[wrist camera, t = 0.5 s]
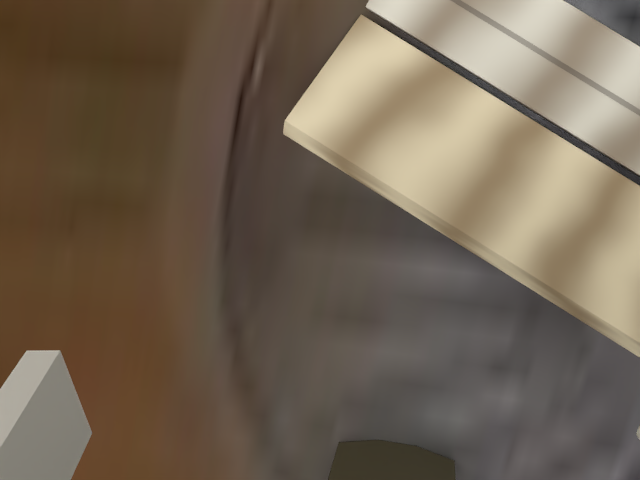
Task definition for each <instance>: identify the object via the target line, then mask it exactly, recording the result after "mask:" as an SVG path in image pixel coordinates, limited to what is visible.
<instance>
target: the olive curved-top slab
mask: <svg viewBox="0 0 640 480" xmlns="http://www.w3.org/2000/svg"><path fill="white" fill-rule="evenodd" d="M328 480H455V462H454V461H453V460H451V459H448V458H445V457H443V456H440V455H438V454H435V453H433V452H430V451H428V450H425V449H422V448H420V447H417V446H413V445H407V444H400V443H394V442H388V441H381V440H367V441H353V442H339V444H338V447H337V451H336V454H335V458H334V461H333V464H332V468H331V471H330V475H329V478H328Z"/></svg>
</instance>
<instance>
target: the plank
mask: <svg viewBox="0 0 640 480" xmlns="http://www.w3.org/2000/svg"><path fill="white" fill-rule="evenodd" d="M283 134H284V135H286V136H287V137H289V138H291V139H292V140H294V141H295V142H297V143H299V144H300V145H302V146H303V147H305V148H307V149H308V150H310V151H311V152H313V153H314V154H316V155H318V156H319V157H321V158H322V159H324V160H326V161H327V162H329V163H330V164H332V165H334V166H335V167H337V168H338V169H340V170H342V171H343V172H345V173H346V174H348V175H350V176H351V177H353V178H354V179H356V180H358V181H359V182H361V183H362V184H364V185H366V186H367V187H369V188H370V189H372V190H373V191H375V192H377V193H378V194H380V195H381V196H383V197H385V198H386V199H388V200H389V201H391V202H393V203H394V204H396V205H397V206H399V207H401V208H402V209H404V210H405V211H407V212H409V213H410V214H412V215H413V216H415V217H417V218H418V219H420V220H421V221H423V222H425V223H426V224H428V225H429V226H431V227H432V228H434V229H436V230H437V231H439V232H440V233H442V234H444V235H445V236H447V237H448V238H450V239H452V240H453V241H455V242H456V243H458V244H460V245H461V246H463V247H464V248H466V249H468V250H469V251H471V252H472V253H474V254H476V255H477V256H479V257H480V258H482V259H484V260H485V261H487V262H488V263H490V264H491V265H493V266H495V267H496V268H498V269H499V270H501V271H503V272H504V273H506V274H507V275H509V276H511V277H512V278H514V279H515V280H517V281H519V282H520V283H522V284H523V285H525V286H527V287H528V288H530V289H531V290H533V291H535V292H536V293H538V294H539V295H541V296H542V297H544V298H546V299H547V300H549V301H550V302H552V303H554V304H555V305H557V306H558V307H560V308H562V309H563V310H565V311H566V312H568V313H570V314H571V315H573V316H574V317H576V318H578V319H579V320H581V321H582V322H584V323H586V324H587V325H589V326H590V327H592V328H594V329H595V330H597V331H598V332H600V333H601V334H603V335H605V336H606V337H608V338H609V339H611V340H613V341H614V342H616V343H617V344H619V345H621V346H622V347H624V348H625V349H627V350H629V351H630V352H632V353H633V354H635V355H637V356H638V357H640V186H639V185H637V184H636V183H634V182H633V181H631V180H629V179H628V178H626V177H624V176H623V175H621V174H620V173H618V172H616V171H615V170H613V169H611V168H610V167H608V166H607V165H605V164H603V163H602V162H600V161H598V160H597V159H595V158H594V157H592V156H590V155H589V154H587V153H585V152H584V151H582V150H581V149H579V148H577V147H576V146H574V145H572V144H571V143H569V142H568V141H566V140H564V139H563V138H561V137H559V136H558V135H556V134H555V133H553V132H551V131H550V130H548V129H546V128H545V127H543V126H542V125H540V124H538V123H537V122H535V121H533V120H532V119H530V118H529V117H527V116H525V115H524V114H522V113H520V112H519V111H517V110H516V109H514V108H512V107H511V106H509V105H507V104H506V103H504V102H503V101H501V100H499V99H498V98H496V97H494V96H493V95H491V94H490V93H488V92H486V91H485V90H483V89H481V88H480V87H478V86H477V85H475V84H473V83H472V82H470V81H468V80H467V79H465V78H464V77H462V76H460V75H459V74H457V73H455V72H454V71H452V70H451V69H449V68H447V67H446V66H444V65H442V64H441V63H439V62H438V61H436V60H434V59H433V58H431V57H429V56H428V55H426V54H425V53H423V52H421V51H420V50H418V49H416V48H415V47H413V46H412V45H410V44H408V43H407V42H405V41H403V40H402V39H400V38H399V37H397V36H395V35H394V34H392V33H390V32H389V31H387V30H386V29H384V28H382V27H381V26H379V25H377V24H376V23H374V22H373V21H371V20H369V19H368V18H366V17H364V16H363V15H360V17H359V18H358V20H357V21H356V22H355V24H354V25H353V26H352V28H351V29H350V31H349V32H348V33H347V35H346V36H345V38H344V39H343V40H342V42H341V43H340V45H339V46H338V47H337V49H336V50H335V51H334V53H333V54H332V56H331V57H330V58H329V60H328V61H327V63H326V64H325V65H324V67H323V68H322V70H321V71H320V72H319V74H318V75H317V76H316V78H315V79H314V81H313V82H312V83H311V85H310V86H309V88H308V89H307V90H306V92H305V93H304V95H303V96H302V97H301V99H300V100H299V101H298V103H297V104H296V106H295V107H294V108H293V110H292V111H291V113H290V114H289V115H288V117H287V118H286V120H285V122H284V130H283Z"/></svg>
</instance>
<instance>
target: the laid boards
mask: <svg viewBox="0 0 640 480" xmlns="http://www.w3.org/2000/svg"><path fill="white" fill-rule="evenodd" d="M366 8H367V9H368V10H369V11H371V12H372V13H374V14H376V15H377V16H379V17H381V18H382V19H384V20H385V21H387V22H389V23H390V24H392V25H394V26H395V27H397V28H398V29H400V30H402V31H403V32H405V33H407V34H408V35H410V36H411V37H413V38H415V39H416V40H418V41H420V42H421V43H423V44H424V45H426V46H428V47H429V48H431V49H433V50H434V51H436V52H438V53H439V54H441V55H442V56H444V57H446V58H447V59H449V60H451V61H452V62H454V63H455V64H457V65H459V66H460V67H462V68H464V69H465V70H467V71H468V72H470V73H472V74H473V75H475V76H477V77H478V78H480V79H481V80H483V81H485V82H486V83H488V84H490V85H491V86H493V87H494V88H496V89H498V90H499V91H501V92H503V93H504V94H506V95H507V96H509V97H511V98H512V99H514V100H516V101H517V102H519V103H520V104H522V105H524V106H525V107H527V108H529V109H530V110H532V111H533V112H535V113H537V114H538V115H540V116H542V117H543V118H545V119H546V120H548V121H550V122H551V123H553V124H555V125H556V126H558V127H559V128H561V129H563V130H564V131H566V132H568V133H569V134H571V135H573V136H574V137H576V138H577V139H579V140H581V141H582V142H584V143H586V144H587V145H589V146H590V147H592V148H594V149H595V150H597V151H599V152H600V153H602V154H603V155H605V156H607V157H608V158H610V159H612V160H613V161H615V162H616V163H618V164H620V165H621V166H623V167H625V168H626V169H628V170H629V171H631V172H633V173H634V174H636V175H638V176H639V177H640V47H639V46H638V45H636V44H634V43H633V42H631V41H629V40H628V39H626V38H624V37H623V36H621V35H619V34H618V33H616V32H614V31H613V30H611V29H609V28H608V27H606V26H605V25H603V24H601V23H600V22H598V21H596V20H595V19H593V18H591V17H590V16H588V15H586V14H585V13H583V12H581V11H580V10H578V9H576V8H575V7H573V6H572V5H570V4H568V3H567V2H565V1H563V0H369V2H368V3H367V5H366Z"/></svg>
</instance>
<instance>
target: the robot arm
mask: <svg viewBox="0 0 640 480" xmlns="http://www.w3.org/2000/svg"><path fill="white" fill-rule="evenodd" d="M91 434H92V432H91V429H90V426H89V424H88V421H87V419H86V416H85V414H84V411H83V408H82V406H81V403H80V401H79V398H78V395H77V393H76V390H75V388H74V385H73V383H72V380H71V377H70V375H69V372H68V370H67V367H66V364H65V362H64V359H63V357H62V354H61V352H60V351H26V352H25V354H24V355H23V357H22V358H21V360H20V361H19V363H18V364H17V366H16V367H15V368H14V370H13V371H12V373H11V374H10V376H9V377H8V379H7V380H6V382H5V383H4V384H3V386H2V387H1V389H0V480H71V478H72V475H73V473H74V471H75V469H76V467H77V465H78V463H79V460H80V458H81V456H82V454H83V452H84V450H85V447H86V445H87V443H88V441H89V439H90V437H91ZM636 434H637V436H638V438H639V440H640V425H639V428H638V431H637V433H636Z"/></svg>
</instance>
